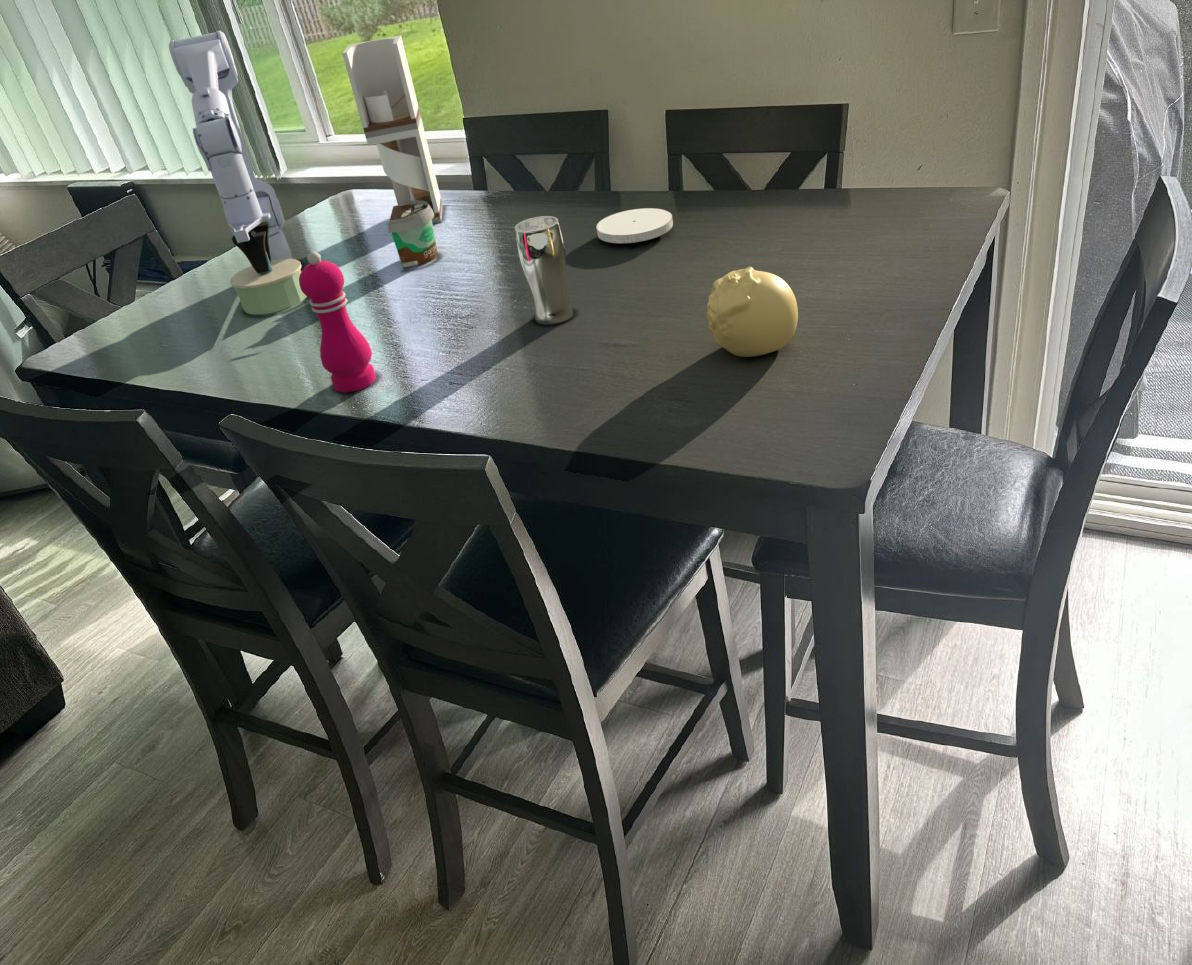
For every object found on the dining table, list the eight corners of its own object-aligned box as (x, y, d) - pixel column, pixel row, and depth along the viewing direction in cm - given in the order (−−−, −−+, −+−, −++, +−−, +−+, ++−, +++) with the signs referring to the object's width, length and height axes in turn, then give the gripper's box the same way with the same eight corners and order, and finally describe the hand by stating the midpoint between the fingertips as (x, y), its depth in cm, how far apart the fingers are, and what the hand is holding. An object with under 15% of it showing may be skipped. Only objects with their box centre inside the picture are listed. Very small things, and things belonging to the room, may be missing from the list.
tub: (250, 298, 175) (240, 270, 172) (311, 286, 176) (302, 258, 173) (240, 322, 165) (229, 293, 162) (305, 308, 166) (295, 279, 163)
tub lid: (238, 272, 173) (228, 246, 170) (306, 259, 173) (297, 232, 170) (226, 297, 162) (215, 269, 159) (298, 282, 163) (288, 254, 160)
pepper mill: (334, 375, 140) (291, 248, 129) (382, 367, 140) (342, 238, 129) (327, 398, 134) (280, 266, 123) (376, 389, 134) (334, 256, 123)
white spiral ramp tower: (395, 215, 206) (348, 44, 187) (442, 206, 207) (400, 35, 187) (391, 231, 197) (342, 53, 178) (441, 221, 197) (397, 43, 178)
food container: (431, 272, 172) (417, 219, 166) (401, 274, 173) (386, 221, 168) (453, 247, 182) (440, 196, 176) (423, 249, 183) (410, 199, 178)
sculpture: (707, 334, 133) (700, 262, 127) (792, 323, 131) (789, 250, 125) (713, 371, 123) (706, 294, 117) (805, 359, 122) (802, 282, 116)
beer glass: (582, 307, 147) (566, 214, 139) (567, 326, 142) (549, 231, 134) (542, 307, 150) (524, 216, 142) (525, 326, 145) (505, 232, 136)
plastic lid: (686, 223, 173) (685, 209, 172) (649, 251, 164) (648, 237, 162) (622, 219, 180) (621, 206, 179) (584, 246, 171) (581, 232, 170)
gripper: (253, 200, 153) (281, 278, 161) (266, 177, 166) (291, 251, 173) (211, 208, 153) (240, 286, 161) (226, 185, 165) (253, 258, 173)
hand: (264, 268), depth 167 cm, fingers closed on tub lid, 2 cm apart
